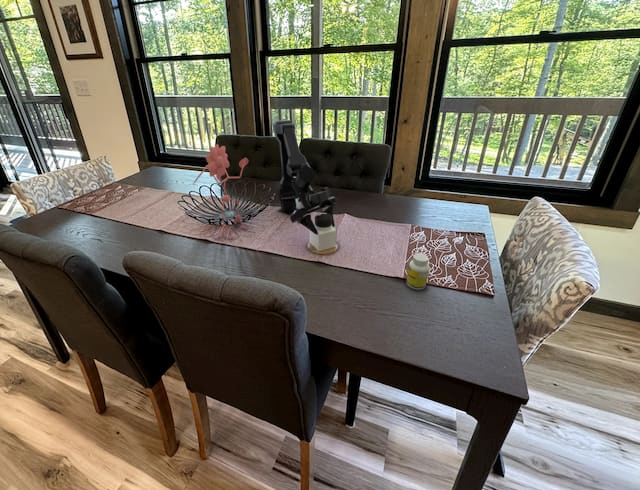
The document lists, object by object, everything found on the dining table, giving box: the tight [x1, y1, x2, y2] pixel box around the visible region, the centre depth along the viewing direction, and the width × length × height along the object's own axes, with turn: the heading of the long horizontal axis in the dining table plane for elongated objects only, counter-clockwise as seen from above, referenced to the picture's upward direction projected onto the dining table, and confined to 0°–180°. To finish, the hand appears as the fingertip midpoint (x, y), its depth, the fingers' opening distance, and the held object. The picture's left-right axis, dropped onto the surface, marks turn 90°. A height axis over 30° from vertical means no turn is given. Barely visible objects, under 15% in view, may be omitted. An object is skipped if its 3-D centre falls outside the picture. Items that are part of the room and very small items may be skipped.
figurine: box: [193, 143, 249, 240], centre depth 120 cm, size 15×26×35 cm, turn 149°
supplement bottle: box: [405, 252, 431, 291], centre depth 90 cm, size 5×5×10 cm
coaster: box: [306, 240, 339, 255], centre depth 114 cm, size 11×11×1 cm
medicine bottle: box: [309, 212, 338, 251], centre depth 111 cm, size 7×7×12 cm
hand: (325, 230), depth 109 cm, fingers closed on medicine bottle, 8 cm apart
